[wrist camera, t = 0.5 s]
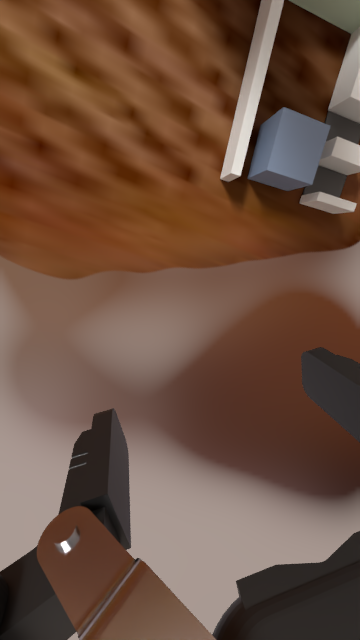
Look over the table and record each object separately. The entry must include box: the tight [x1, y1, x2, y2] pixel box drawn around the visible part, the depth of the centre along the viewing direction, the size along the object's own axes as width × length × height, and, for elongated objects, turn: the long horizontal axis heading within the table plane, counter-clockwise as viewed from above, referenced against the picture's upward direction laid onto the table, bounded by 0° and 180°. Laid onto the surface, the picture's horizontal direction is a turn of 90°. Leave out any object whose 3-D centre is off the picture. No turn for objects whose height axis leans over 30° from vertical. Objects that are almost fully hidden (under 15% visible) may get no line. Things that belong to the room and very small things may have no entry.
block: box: [247, 107, 330, 191], centre depth 31 cm, size 6×6×5 cm
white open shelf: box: [220, 0, 360, 214], centre depth 31 cm, size 20×18×4 cm
